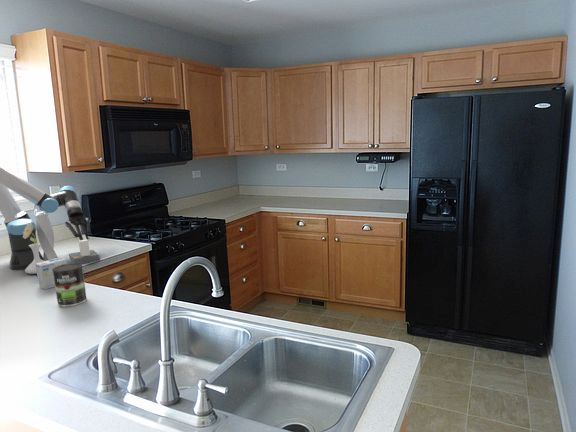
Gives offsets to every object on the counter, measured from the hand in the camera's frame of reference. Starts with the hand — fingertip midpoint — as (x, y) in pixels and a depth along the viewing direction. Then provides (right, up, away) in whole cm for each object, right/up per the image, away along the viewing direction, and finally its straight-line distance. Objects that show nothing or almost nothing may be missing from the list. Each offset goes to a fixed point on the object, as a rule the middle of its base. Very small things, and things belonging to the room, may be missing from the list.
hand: (86, 246), depth 225 cm
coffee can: (+22, -18, -58) cm, 65 cm away
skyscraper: (-21, -8, +5) cm, 23 cm away
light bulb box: (+3, -15, -36) cm, 39 cm away
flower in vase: (-15, -12, -17) cm, 26 cm away
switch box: (-2, -7, +2) cm, 8 cm away
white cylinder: (0, -4, -2) cm, 5 cm away
